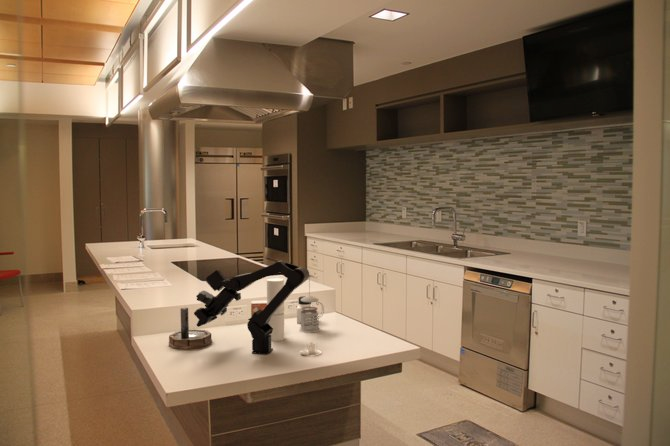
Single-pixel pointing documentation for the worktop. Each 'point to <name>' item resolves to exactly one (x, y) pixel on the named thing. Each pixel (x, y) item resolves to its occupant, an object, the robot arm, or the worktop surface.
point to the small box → (257, 306)
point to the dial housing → (190, 341)
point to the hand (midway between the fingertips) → (197, 325)
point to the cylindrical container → (278, 316)
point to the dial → (187, 328)
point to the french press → (310, 315)
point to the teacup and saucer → (310, 349)
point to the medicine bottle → (299, 309)
